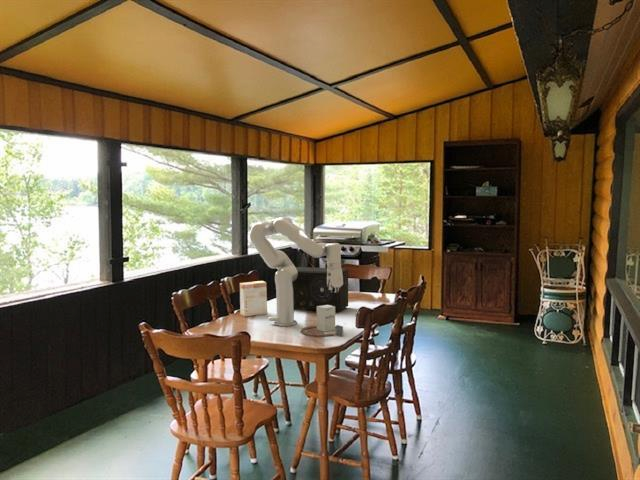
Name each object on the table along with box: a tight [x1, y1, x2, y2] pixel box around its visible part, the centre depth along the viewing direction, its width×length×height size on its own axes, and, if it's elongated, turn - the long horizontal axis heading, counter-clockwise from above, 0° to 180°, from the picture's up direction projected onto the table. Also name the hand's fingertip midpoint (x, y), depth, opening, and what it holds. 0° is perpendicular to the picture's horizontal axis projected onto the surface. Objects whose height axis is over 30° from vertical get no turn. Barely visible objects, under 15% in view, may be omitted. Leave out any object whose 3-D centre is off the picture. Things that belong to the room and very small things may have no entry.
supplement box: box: [316, 305, 336, 333], centre depth 287 cm, size 7×7×13 cm
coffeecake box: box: [239, 280, 268, 317], centre depth 328 cm, size 15×7×20 cm, turn 118°
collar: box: [300, 324, 344, 338], centre depth 282 cm, size 22×26×5 cm
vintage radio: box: [292, 266, 349, 313], centre depth 341 cm, size 38×20×25 cm, turn 70°
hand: (335, 299), depth 293 cm, fingers closed
